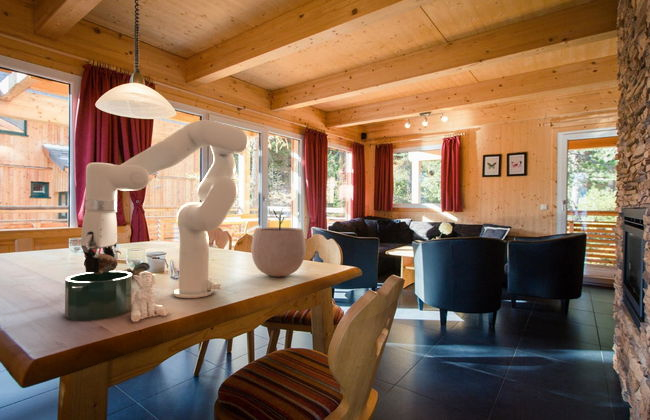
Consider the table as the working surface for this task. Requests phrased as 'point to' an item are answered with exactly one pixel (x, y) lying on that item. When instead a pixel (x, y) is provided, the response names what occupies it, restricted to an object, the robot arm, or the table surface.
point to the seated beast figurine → (145, 299)
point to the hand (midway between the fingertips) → (100, 269)
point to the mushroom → (105, 263)
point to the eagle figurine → (138, 269)
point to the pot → (98, 295)
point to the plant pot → (278, 249)
